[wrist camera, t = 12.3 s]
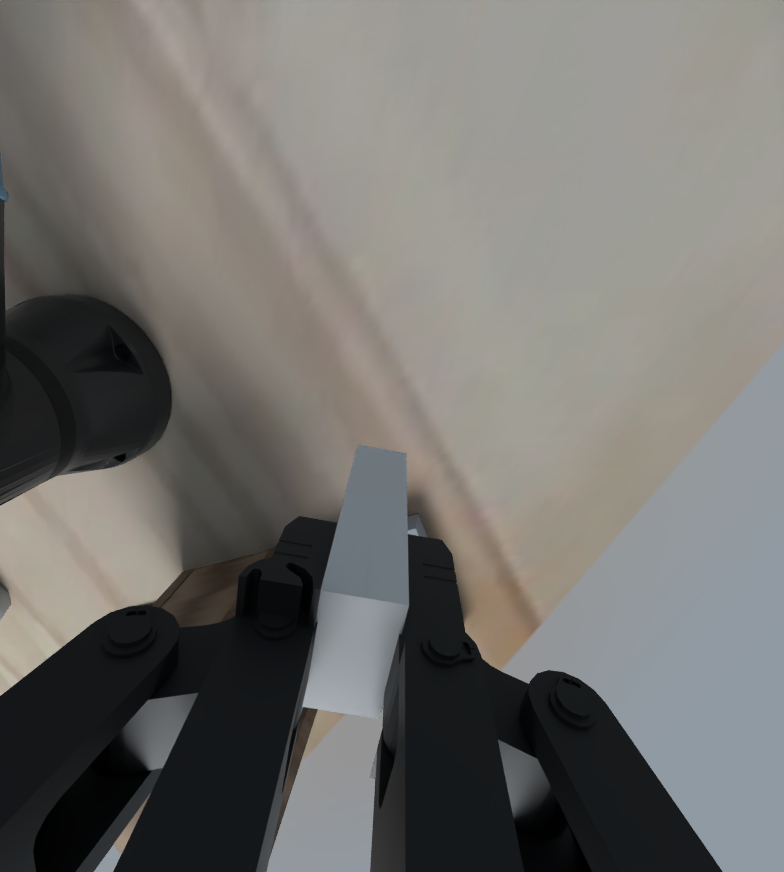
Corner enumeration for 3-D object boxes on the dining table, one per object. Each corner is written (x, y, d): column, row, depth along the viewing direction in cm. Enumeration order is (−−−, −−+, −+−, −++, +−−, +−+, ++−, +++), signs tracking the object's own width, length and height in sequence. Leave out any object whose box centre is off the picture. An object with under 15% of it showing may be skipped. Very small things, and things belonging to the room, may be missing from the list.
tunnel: (282, 545, 44) (171, 717, 27) (336, 651, 47) (268, 859, 31) (182, 572, 47) (27, 741, 30) (241, 669, 50) (132, 867, 34)
